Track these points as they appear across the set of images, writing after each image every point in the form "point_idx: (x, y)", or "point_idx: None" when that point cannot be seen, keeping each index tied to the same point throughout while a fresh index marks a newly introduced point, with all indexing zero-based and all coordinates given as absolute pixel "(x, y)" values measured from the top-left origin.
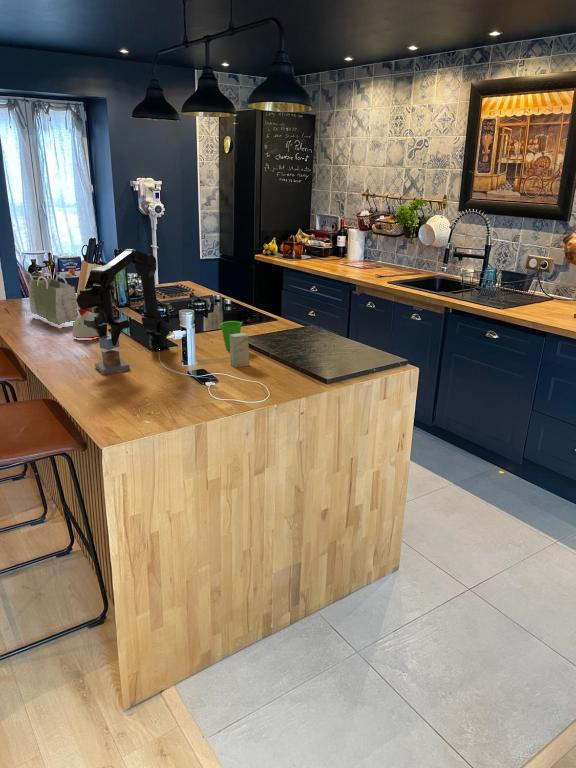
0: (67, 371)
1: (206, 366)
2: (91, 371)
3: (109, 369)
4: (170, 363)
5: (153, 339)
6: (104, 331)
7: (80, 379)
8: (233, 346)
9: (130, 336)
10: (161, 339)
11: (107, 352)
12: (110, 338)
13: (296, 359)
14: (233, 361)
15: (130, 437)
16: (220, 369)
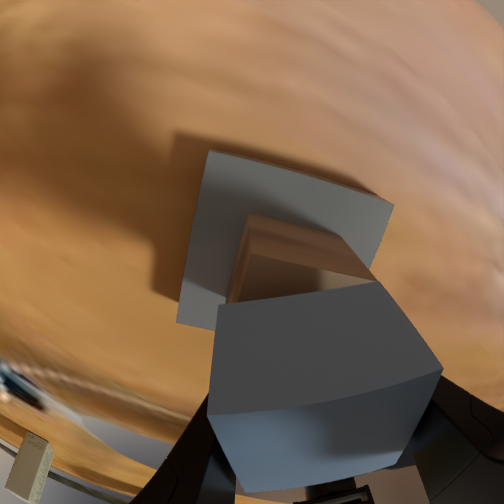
0: (448, 75)
1: (60, 426)
2: (348, 142)
3: (199, 196)
4: (143, 419)
5: (327, 482)
6: (437, 475)
7: (262, 13)
8: (13, 470)
9: None
10: (306, 490)
11: (288, 293)
12: (231, 448)
13: None
14: (27, 443)
15: None
16: (27, 418)
